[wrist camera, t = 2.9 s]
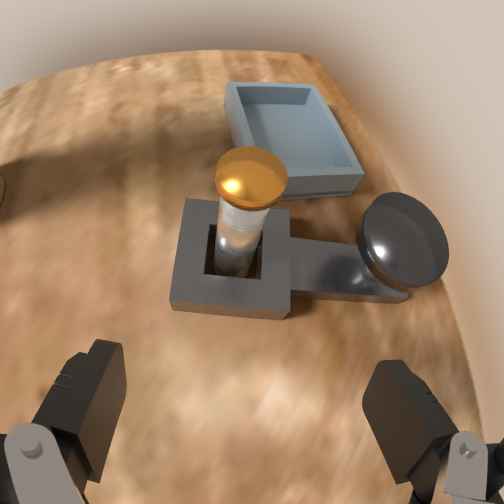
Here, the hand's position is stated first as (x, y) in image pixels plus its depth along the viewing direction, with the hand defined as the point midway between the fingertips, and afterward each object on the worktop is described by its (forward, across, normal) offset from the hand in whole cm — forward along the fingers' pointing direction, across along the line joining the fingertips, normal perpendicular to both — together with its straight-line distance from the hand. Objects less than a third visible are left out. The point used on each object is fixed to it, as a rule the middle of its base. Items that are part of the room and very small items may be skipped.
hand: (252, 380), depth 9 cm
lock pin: (+20, 0, +4) cm, 20 cm away
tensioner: (+20, -6, +4) cm, 21 cm away
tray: (+31, -5, -8) cm, 32 cm away
